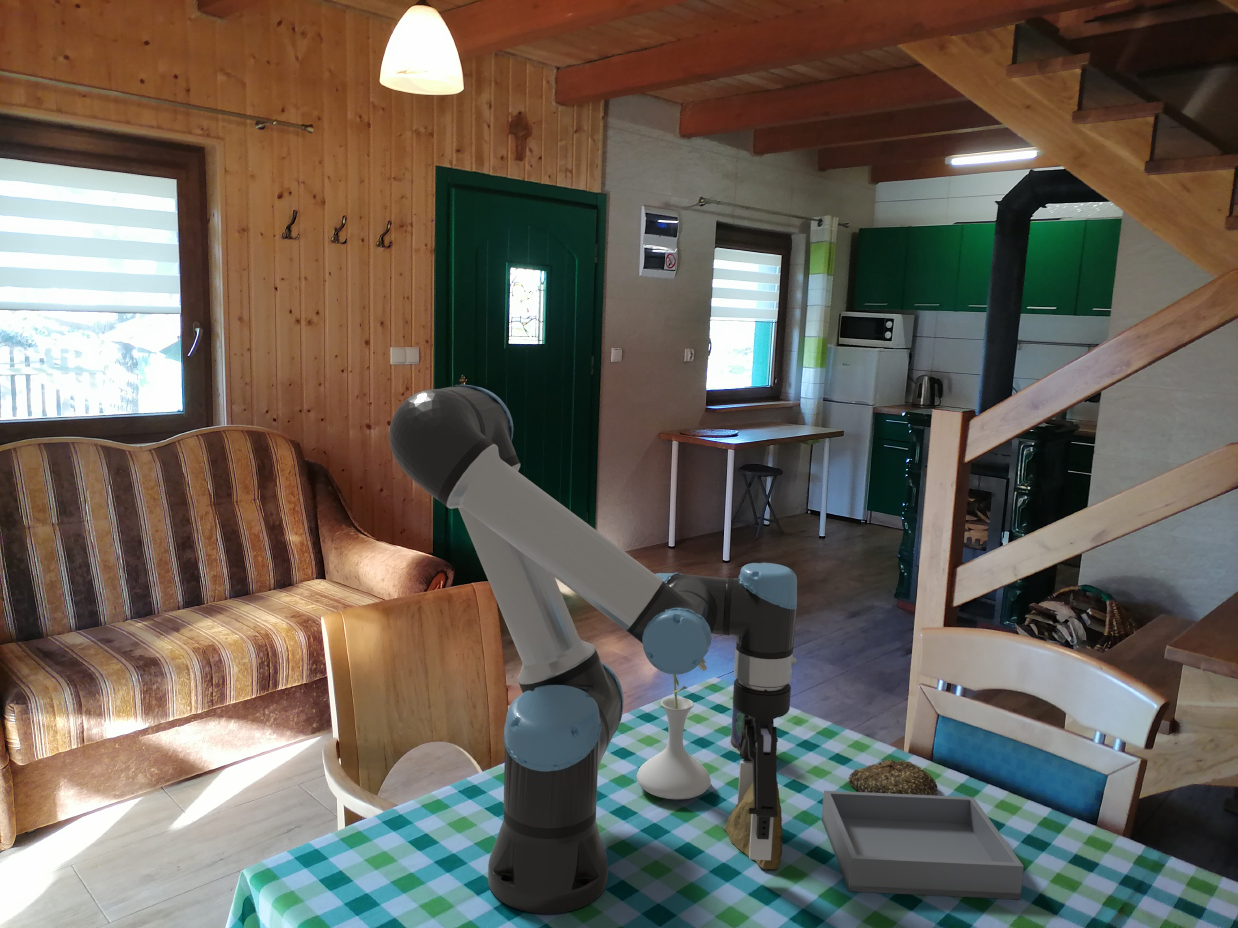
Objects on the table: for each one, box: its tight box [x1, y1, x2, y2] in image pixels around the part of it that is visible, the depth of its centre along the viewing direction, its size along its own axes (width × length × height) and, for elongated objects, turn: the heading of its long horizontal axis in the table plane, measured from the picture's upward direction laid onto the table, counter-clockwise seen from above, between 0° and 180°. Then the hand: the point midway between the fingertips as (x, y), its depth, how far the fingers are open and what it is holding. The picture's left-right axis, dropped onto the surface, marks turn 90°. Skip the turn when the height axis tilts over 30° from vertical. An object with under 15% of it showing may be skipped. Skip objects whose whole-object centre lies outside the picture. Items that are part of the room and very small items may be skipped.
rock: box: [723, 781, 783, 870], centre depth 126 cm, size 11×9×10 cm
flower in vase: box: [636, 658, 712, 800], centre depth 142 cm, size 13×11×25 cm
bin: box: [821, 790, 1025, 900], centre depth 126 cm, size 22×18×4 cm
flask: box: [730, 705, 744, 753], centre depth 156 cm, size 9×3×11 cm, turn 21°
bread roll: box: [848, 758, 938, 796], centre depth 145 cm, size 13×12×5 cm
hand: (753, 830), depth 126 cm, fingers open, 13 cm apart
